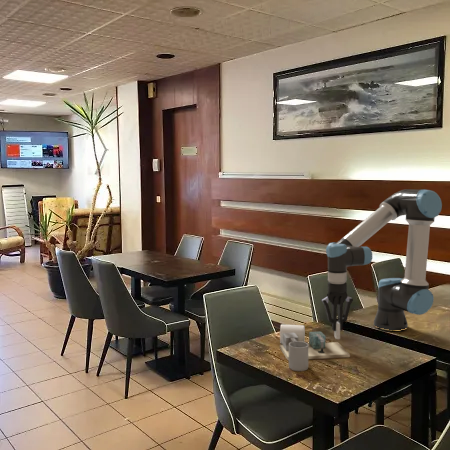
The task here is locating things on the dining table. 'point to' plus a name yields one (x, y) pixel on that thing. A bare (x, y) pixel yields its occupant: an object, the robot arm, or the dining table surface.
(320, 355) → the board
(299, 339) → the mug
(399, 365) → the dining table surface
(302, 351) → the cup
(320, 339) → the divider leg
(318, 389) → the dining table surface
